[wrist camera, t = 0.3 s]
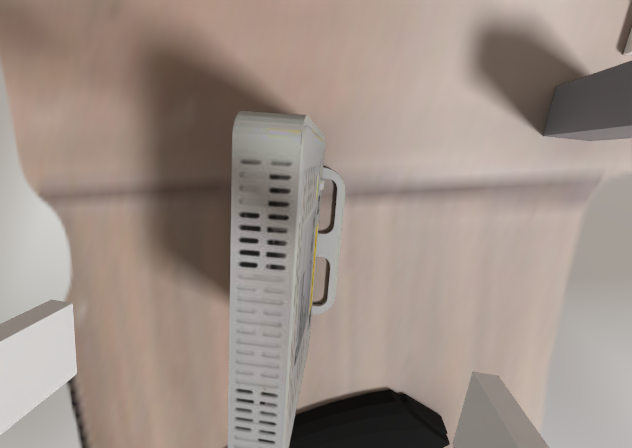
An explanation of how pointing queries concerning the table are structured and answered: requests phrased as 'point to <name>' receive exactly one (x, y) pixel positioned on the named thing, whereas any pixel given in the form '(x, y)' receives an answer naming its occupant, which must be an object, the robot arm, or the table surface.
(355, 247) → the table surface
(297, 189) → the network device
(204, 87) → the table surface
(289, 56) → the table surface
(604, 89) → the connector plug
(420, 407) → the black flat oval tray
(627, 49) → the end holder
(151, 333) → the table surface
